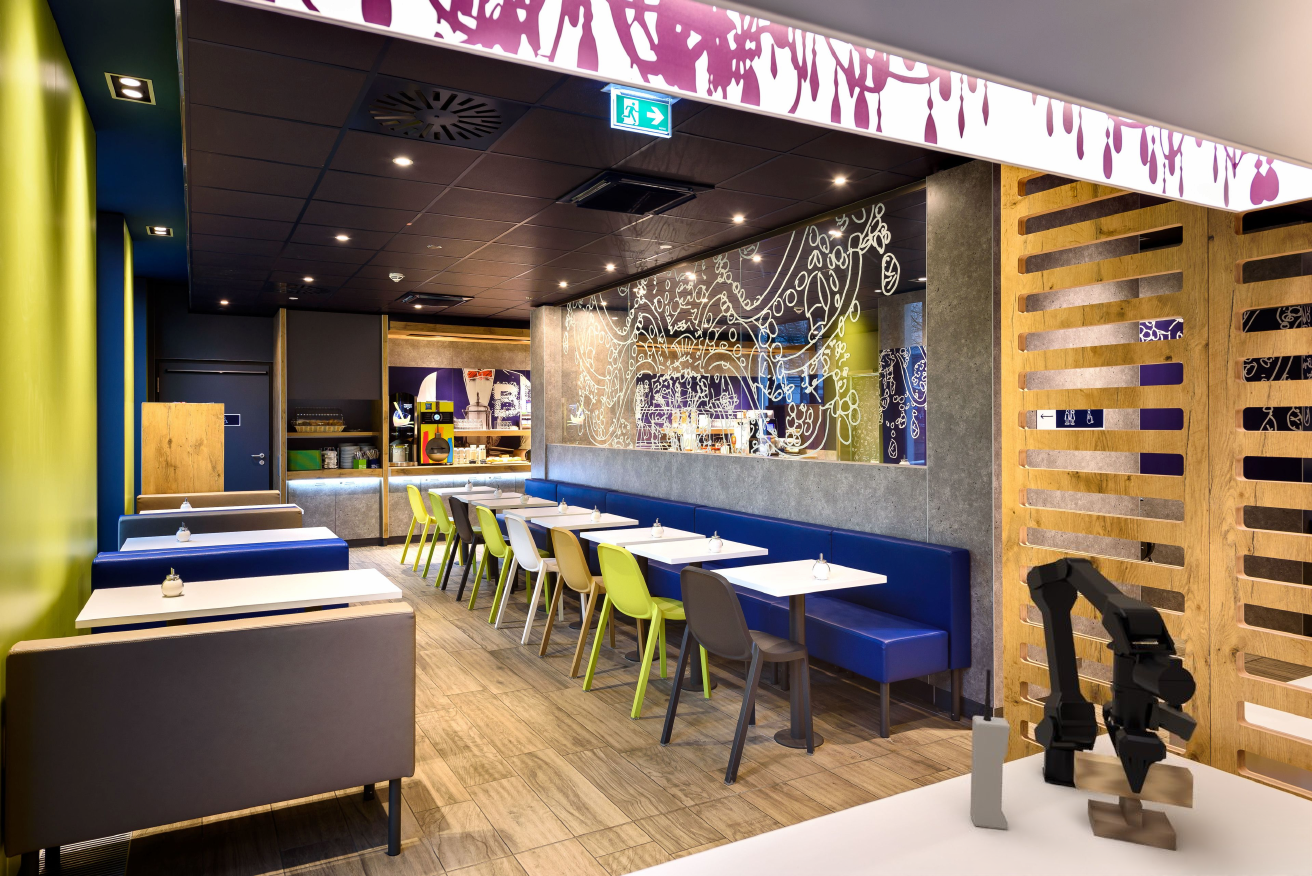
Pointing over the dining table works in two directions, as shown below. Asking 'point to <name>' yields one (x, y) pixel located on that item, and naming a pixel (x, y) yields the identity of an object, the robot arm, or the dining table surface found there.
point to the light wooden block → (1111, 779)
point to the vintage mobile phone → (988, 766)
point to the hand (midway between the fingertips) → (1130, 781)
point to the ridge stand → (1131, 823)
